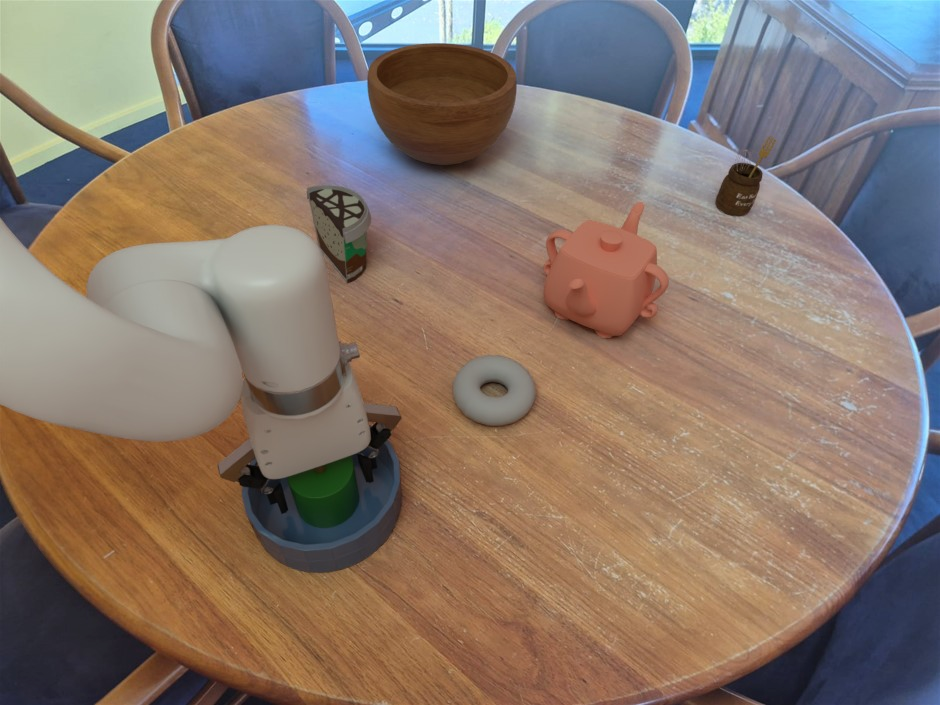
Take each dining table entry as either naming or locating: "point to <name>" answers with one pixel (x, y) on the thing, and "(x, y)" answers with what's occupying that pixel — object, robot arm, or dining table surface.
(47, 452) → the dining table surface
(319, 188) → the food container
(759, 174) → the utensil holder
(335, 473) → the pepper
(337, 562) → the serving bowl
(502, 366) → the donut
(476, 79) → the bowl
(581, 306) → the teapot
